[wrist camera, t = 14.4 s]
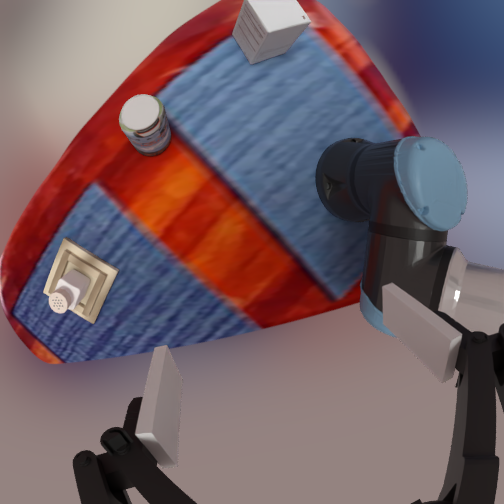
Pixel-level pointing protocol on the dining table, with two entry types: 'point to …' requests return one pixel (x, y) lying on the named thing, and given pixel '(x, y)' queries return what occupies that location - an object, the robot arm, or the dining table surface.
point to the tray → (87, 265)
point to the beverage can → (145, 124)
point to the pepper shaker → (69, 291)
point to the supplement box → (268, 27)
